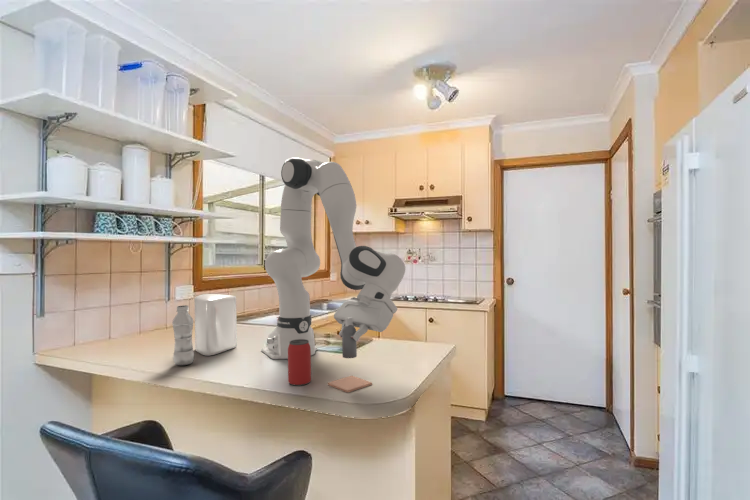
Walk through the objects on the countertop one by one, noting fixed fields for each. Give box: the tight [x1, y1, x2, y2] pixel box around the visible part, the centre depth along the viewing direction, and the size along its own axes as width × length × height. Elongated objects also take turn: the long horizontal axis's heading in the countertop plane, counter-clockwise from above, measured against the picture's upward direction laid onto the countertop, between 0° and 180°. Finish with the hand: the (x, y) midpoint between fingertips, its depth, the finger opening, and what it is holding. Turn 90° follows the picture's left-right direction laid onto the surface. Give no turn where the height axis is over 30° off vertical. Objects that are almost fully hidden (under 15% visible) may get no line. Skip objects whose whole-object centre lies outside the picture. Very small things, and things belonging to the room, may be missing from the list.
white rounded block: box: [193, 293, 238, 357], centre depth 156 cm, size 15×14×22 cm
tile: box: [327, 375, 373, 393], centre depth 115 cm, size 9×9×1 cm
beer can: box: [287, 339, 312, 386], centre depth 117 cm, size 7×7×12 cm
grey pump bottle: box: [341, 317, 358, 359], centre depth 115 cm, size 4×4×11 cm
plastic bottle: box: [172, 304, 195, 366], centre depth 137 cm, size 6×7×20 cm
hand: (347, 337), depth 114 cm, fingers closed on grey pump bottle, 4 cm apart
